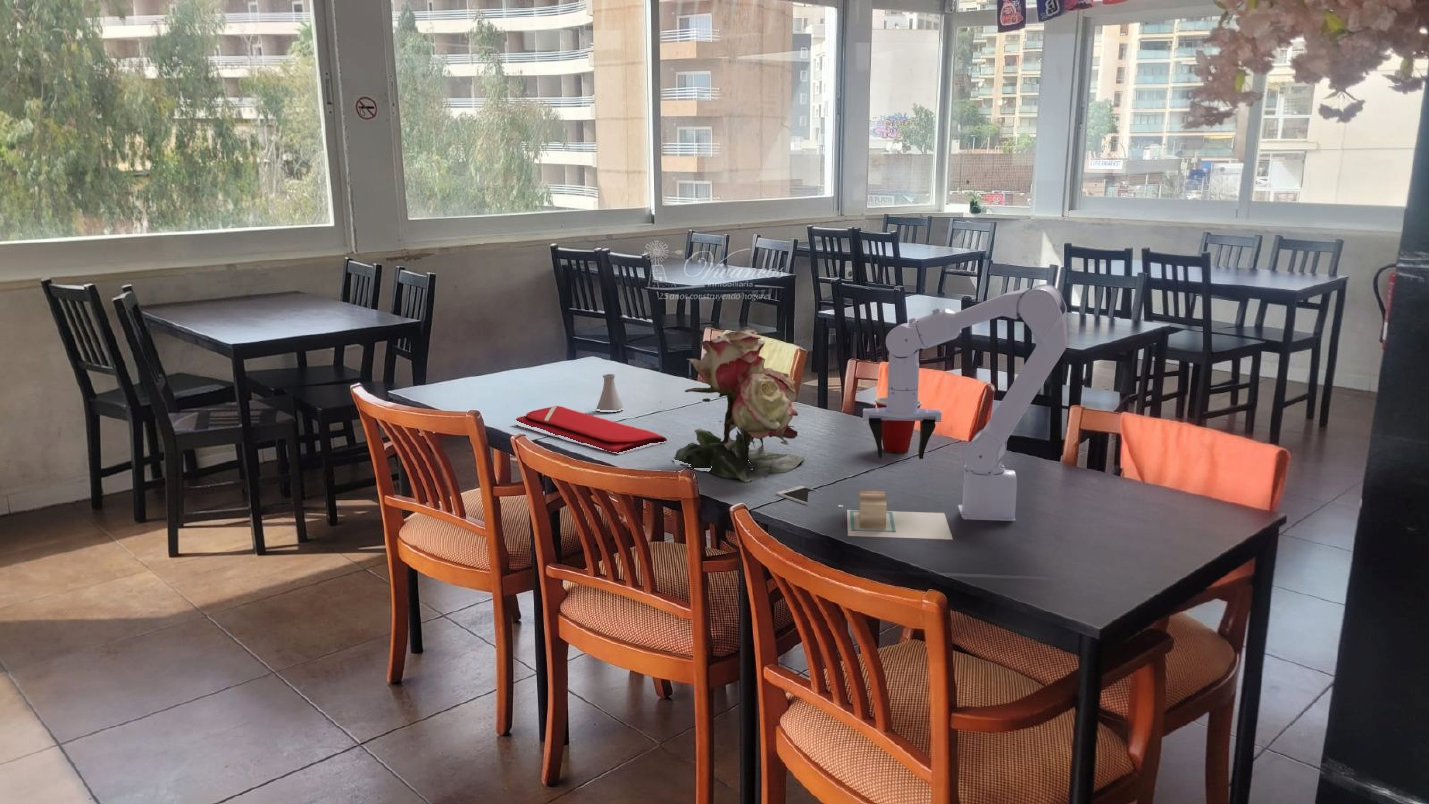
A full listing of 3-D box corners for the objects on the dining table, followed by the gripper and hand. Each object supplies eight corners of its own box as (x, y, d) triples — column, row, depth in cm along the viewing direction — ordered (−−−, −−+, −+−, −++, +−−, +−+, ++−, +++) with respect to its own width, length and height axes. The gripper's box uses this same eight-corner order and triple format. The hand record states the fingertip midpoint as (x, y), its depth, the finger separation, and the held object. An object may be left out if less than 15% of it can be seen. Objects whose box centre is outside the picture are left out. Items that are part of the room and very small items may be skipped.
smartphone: (831, 515, 188) (831, 510, 188) (775, 496, 200) (775, 491, 200) (857, 507, 193) (857, 503, 193) (800, 489, 205) (801, 485, 204)
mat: (944, 515, 187) (944, 512, 187) (952, 542, 173) (952, 538, 173) (846, 512, 189) (846, 509, 189) (847, 538, 175) (847, 535, 175)
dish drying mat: (617, 457, 229) (616, 442, 228) (513, 427, 257) (512, 413, 256) (667, 444, 240) (667, 429, 239) (562, 417, 268) (562, 403, 267)
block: (885, 529, 178) (886, 505, 177) (859, 528, 179) (860, 504, 178) (884, 514, 186) (884, 491, 185) (859, 513, 187) (859, 490, 186)
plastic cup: (929, 449, 232) (931, 398, 230) (903, 458, 225) (905, 406, 222) (889, 441, 240) (891, 392, 237) (863, 450, 232) (865, 399, 229)
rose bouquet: (761, 488, 204) (762, 343, 197) (659, 462, 223) (657, 329, 216) (834, 462, 222) (837, 328, 216) (735, 440, 241) (735, 316, 235)
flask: (628, 410, 274) (627, 374, 272) (612, 415, 268) (611, 378, 266) (607, 406, 278) (606, 371, 275) (591, 411, 272) (590, 375, 269)
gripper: (939, 384, 192) (936, 452, 195) (863, 382, 193) (861, 450, 196) (943, 391, 185) (940, 462, 188) (864, 390, 186) (862, 460, 189)
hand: (900, 457), depth 192 cm, fingers open, 7 cm apart
